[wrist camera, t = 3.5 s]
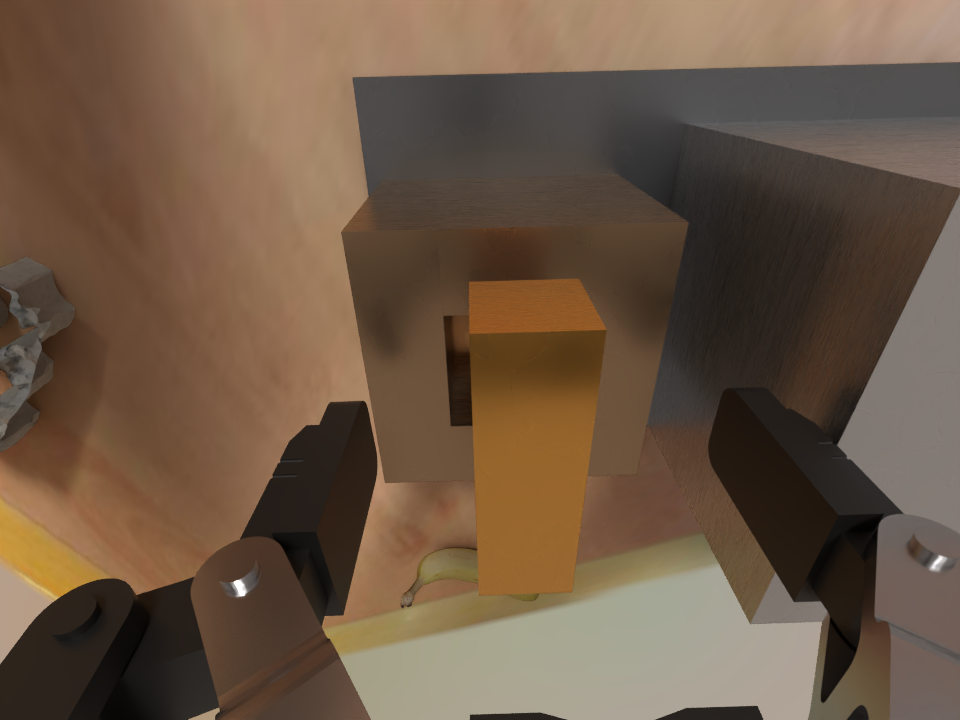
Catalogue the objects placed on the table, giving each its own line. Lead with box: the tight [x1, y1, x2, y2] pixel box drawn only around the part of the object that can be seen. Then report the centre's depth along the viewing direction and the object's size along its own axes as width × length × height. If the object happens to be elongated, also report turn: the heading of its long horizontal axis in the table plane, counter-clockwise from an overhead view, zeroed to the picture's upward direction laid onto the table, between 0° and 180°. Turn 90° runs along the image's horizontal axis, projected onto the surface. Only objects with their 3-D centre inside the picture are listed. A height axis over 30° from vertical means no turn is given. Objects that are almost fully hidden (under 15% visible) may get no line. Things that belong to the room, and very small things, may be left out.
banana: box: [401, 548, 539, 608], centre depth 27 cm, size 8×2×4 cm, turn 71°
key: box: [469, 279, 607, 595], centre depth 13 cm, size 7×2×8 cm, turn 1°
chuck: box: [341, 62, 960, 624], centre depth 15 cm, size 22×14×12 cm, turn 91°
